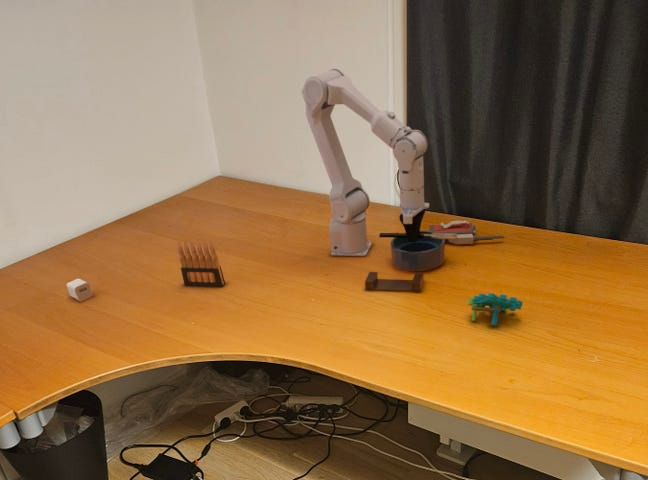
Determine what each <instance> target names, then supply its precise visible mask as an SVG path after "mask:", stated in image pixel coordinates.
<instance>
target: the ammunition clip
mask: <svg viewBox="0 0 648 480" xmlns="http://www.w3.org/2000/svg"><path fill="white" fill-rule="evenodd" d="M176 246H177V247H176V248H177V252H178V253H177V254H178V260H179V262H180V271H181V276H182V280H183V285H184V287H204V288H205V287H206V288H207V287H208V288H223V287H224V285H225V284H226V280H225V277H224V273H223V270H222V266H221V265H220V263H219V262H220V261H219V257H218V255H217V252H216V249H215V246H214V243H213V242H212V241H211V240H210V241H209V246H208V244H207V243H206V241H205V240H203V242H202V245H201V243H200V242H199V240H197V241H196V246H195V244H194V242H193V241H192V240H190V242H189V244H188V243H187V241H185V240H183V246H182V244H181V242H180V241H179V240H177V241H176Z"/></svg>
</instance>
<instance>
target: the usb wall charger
mask: <svg viewBox="0 0 648 480" xmlns="http://www.w3.org/2000/svg"><path fill="white" fill-rule="evenodd" d="M66 288H67V291H68V293H69V296H70V297H72V298H73V299H75V300H77V301H79V302H83V301H85V300H88V299H90V298H91V297H93V295H94V294H93V293H94V292H93V290H92V288H91V285H90V282H87V281H85V280H83V279H82V278H76V279H73V280H71V281H68V282H67V283H66Z"/></svg>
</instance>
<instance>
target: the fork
mask: <svg viewBox="0 0 648 480" xmlns="http://www.w3.org/2000/svg"><path fill="white" fill-rule="evenodd" d="M378 237H379V238H384V239H385V238H387V239H388V238H391V239H393V238H407V235H406V233H405V232H380V233H379V234H378ZM418 238H431V239H456V238H457V234H451V233H432V234H424V233H419V235H418Z"/></svg>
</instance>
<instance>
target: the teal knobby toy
mask: <svg viewBox="0 0 648 480" xmlns="http://www.w3.org/2000/svg"><path fill="white" fill-rule="evenodd" d="M507 297H508V295H507V294H499V296H498V295H496V294H495V293H494V292H493V293H492V292H491V293H488V294H485V293H479V294H478V295H474V296H473V298H472V297H469V298H468V301H467V305H468V306H470V307H471V311H472V317H471V321H472V322H476V320H477V319H476V318H477V313H478V312H489V313H490V312H491V313H492V312H493V314H492V319H491V326H492V327H497V325H498V318H499V313H500V312H507V310H509V311H512V312H514V311H516V310H521V309H522V307H523V302H524V301H522V300H518V298H517V297H514V296H511V297H509V298H507ZM486 306H487V307H486Z"/></svg>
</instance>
